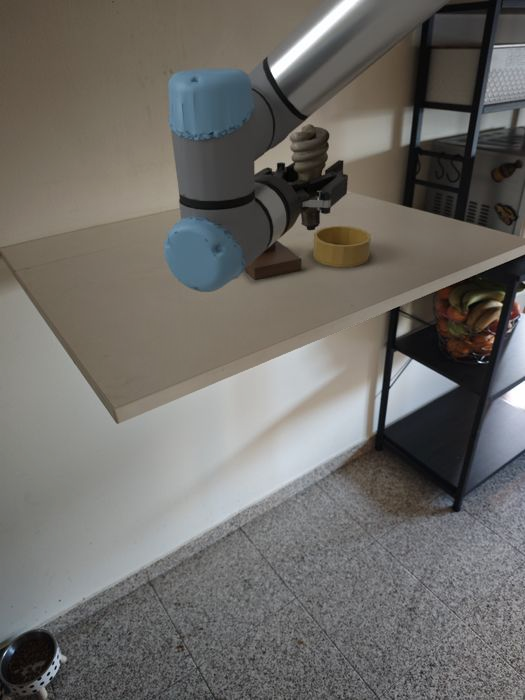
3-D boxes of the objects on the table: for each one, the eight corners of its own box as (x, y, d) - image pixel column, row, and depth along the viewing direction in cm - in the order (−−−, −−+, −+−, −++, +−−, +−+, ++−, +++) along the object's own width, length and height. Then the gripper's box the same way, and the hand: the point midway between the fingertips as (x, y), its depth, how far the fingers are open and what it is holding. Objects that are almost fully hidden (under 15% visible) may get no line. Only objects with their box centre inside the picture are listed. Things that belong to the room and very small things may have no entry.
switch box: (301, 269, 88) (301, 248, 86) (254, 280, 85) (254, 258, 83) (271, 247, 97) (271, 227, 95) (228, 255, 94) (227, 235, 92)
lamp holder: (379, 260, 91) (382, 239, 89) (331, 271, 87) (332, 250, 85) (348, 242, 98) (350, 222, 96) (303, 251, 95) (303, 231, 93)
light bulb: (297, 237, 74) (297, 128, 66) (285, 226, 79) (284, 123, 71) (332, 232, 76) (336, 125, 67) (319, 221, 80) (321, 119, 72)
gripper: (196, 234, 65) (268, 186, 82) (330, 254, 58) (378, 198, 76) (190, 174, 60) (267, 138, 78) (334, 189, 54) (383, 146, 71)
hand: (322, 168), depth 77 cm, fingers closed on light bulb, 5 cm apart
